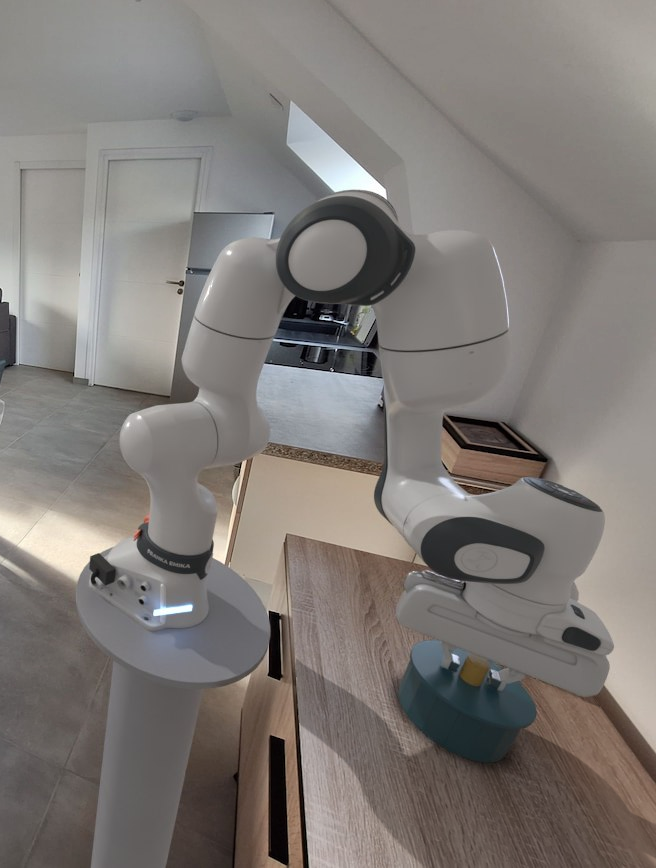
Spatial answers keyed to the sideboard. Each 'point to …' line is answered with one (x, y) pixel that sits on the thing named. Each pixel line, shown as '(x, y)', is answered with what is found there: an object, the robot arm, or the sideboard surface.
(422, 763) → the sideboard surface
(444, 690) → the tin lid
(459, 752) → the tin
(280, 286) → the robot arm
